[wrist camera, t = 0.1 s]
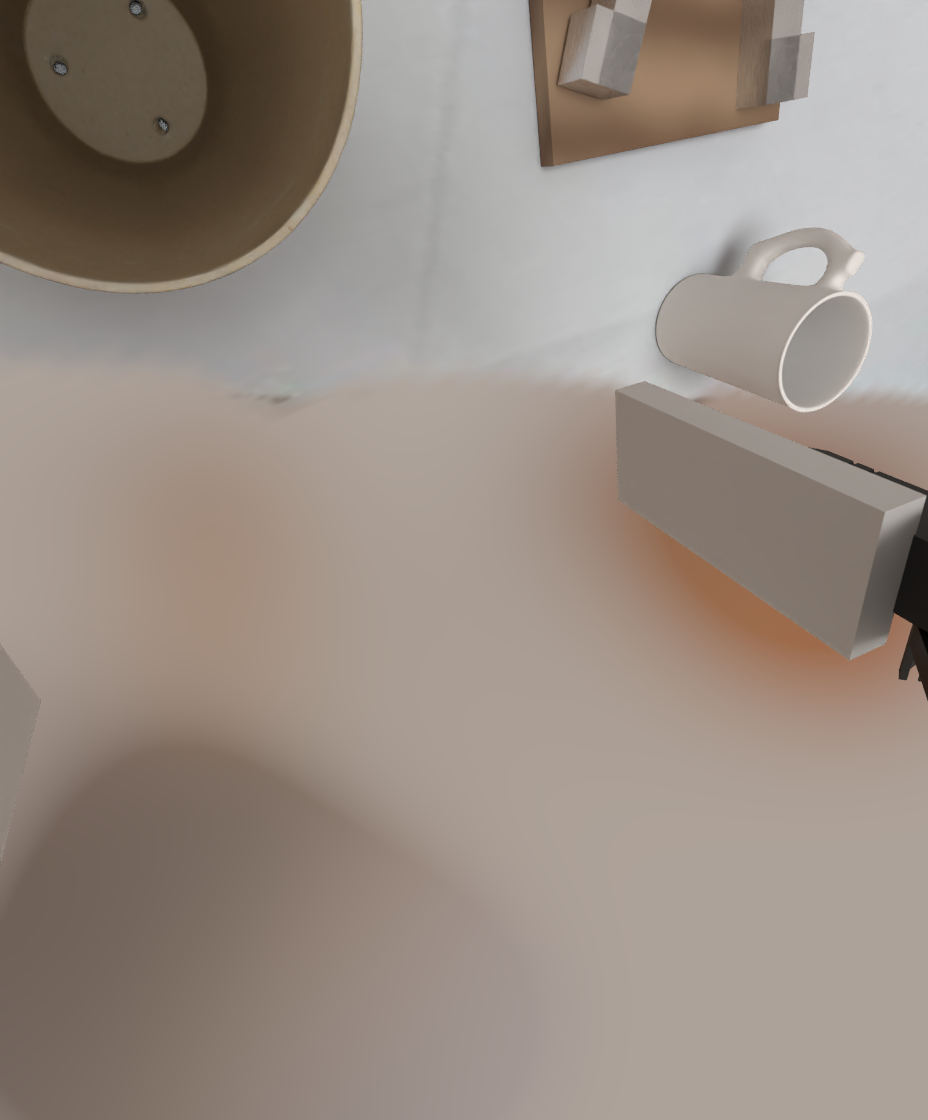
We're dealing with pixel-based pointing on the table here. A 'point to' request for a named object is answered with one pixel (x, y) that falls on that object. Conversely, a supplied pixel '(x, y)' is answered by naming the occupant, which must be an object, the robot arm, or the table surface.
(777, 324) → the mug
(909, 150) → the table surface
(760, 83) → the grey white bar
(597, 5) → the arm
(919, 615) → the robot arm
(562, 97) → the walnut board
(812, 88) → the table surface
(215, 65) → the plant pot
